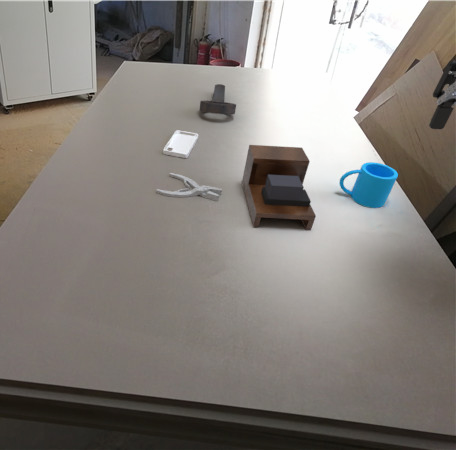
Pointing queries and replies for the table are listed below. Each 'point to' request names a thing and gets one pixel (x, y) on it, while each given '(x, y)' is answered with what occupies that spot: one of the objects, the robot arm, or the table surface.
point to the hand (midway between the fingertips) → (449, 139)
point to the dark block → (284, 191)
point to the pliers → (197, 190)
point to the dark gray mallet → (218, 103)
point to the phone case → (180, 144)
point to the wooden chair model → (274, 165)
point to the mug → (371, 184)
